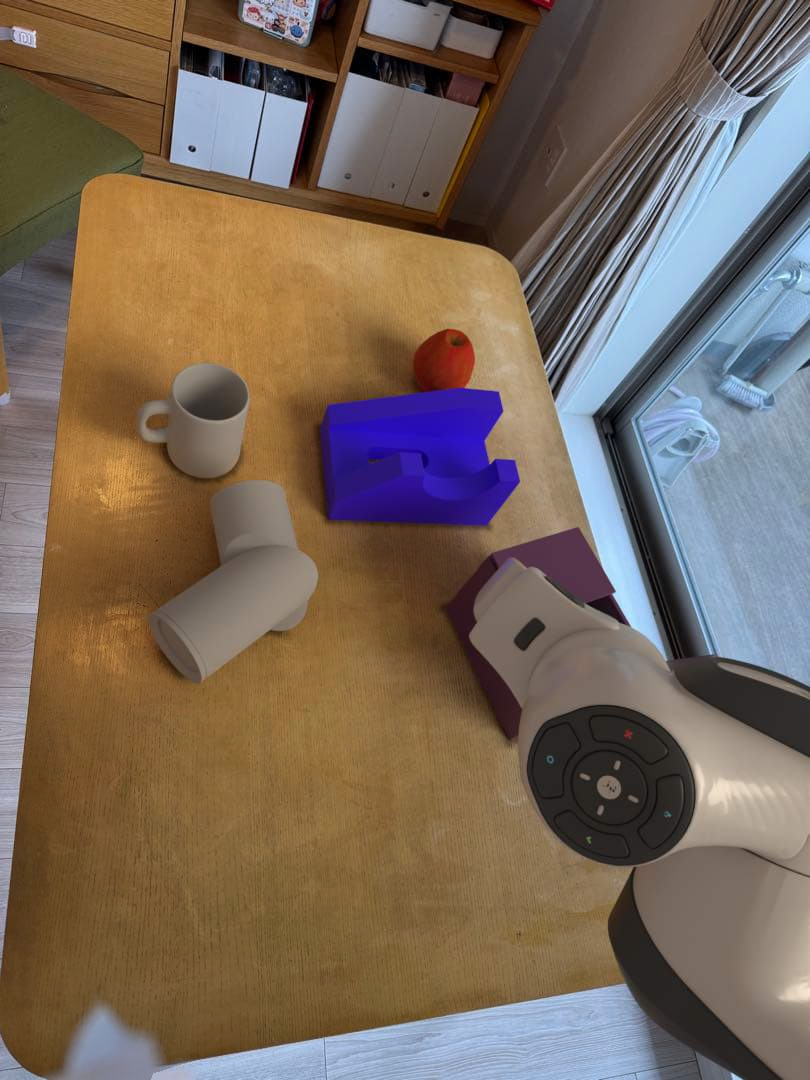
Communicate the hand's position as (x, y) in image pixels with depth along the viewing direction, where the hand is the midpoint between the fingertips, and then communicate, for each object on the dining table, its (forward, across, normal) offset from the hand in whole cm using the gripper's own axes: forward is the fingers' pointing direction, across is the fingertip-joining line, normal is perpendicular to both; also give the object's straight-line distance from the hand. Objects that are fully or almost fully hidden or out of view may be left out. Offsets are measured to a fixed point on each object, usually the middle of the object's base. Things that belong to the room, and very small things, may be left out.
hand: (597, 649), depth 62 cm
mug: (+22, +47, +18) cm, 55 cm away
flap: (+13, -7, +1) cm, 15 cm away
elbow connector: (+15, +30, +25) cm, 42 cm away
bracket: (+35, +28, +5) cm, 45 cm away
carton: (+29, +2, +11) cm, 31 cm away
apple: (+46, +35, -6) cm, 58 cm away
